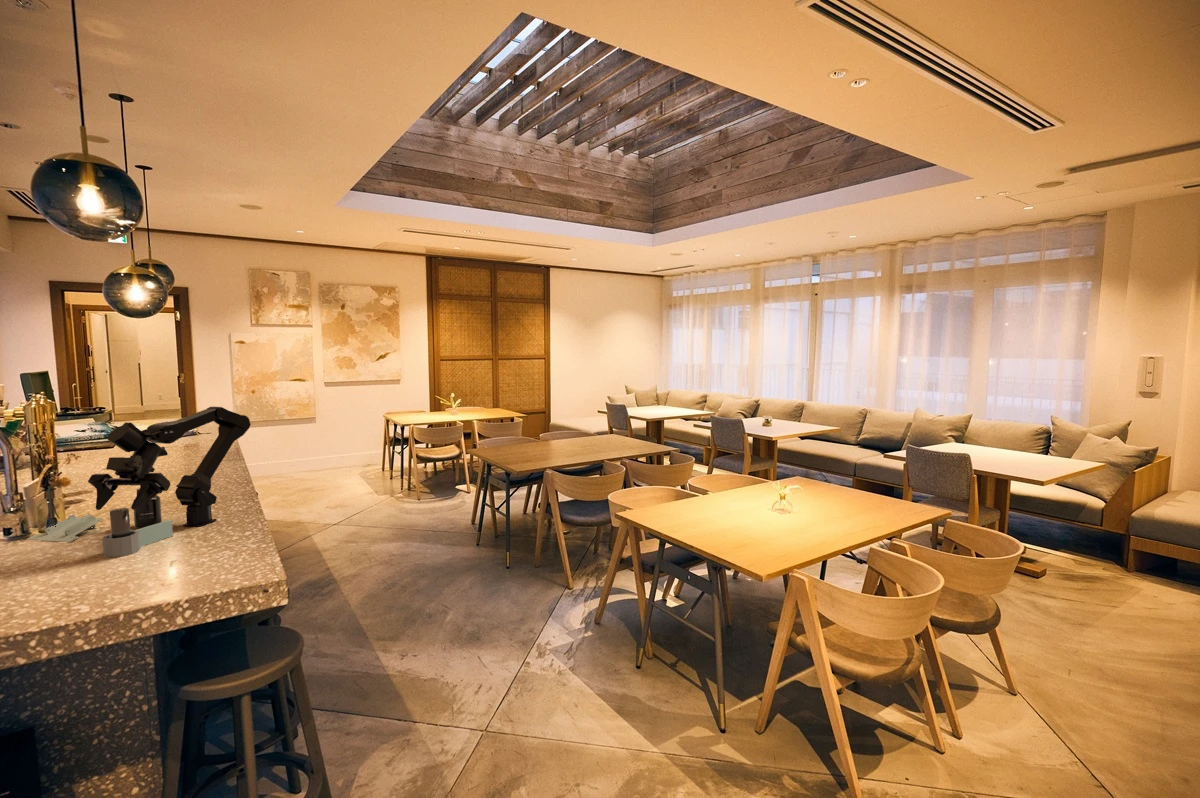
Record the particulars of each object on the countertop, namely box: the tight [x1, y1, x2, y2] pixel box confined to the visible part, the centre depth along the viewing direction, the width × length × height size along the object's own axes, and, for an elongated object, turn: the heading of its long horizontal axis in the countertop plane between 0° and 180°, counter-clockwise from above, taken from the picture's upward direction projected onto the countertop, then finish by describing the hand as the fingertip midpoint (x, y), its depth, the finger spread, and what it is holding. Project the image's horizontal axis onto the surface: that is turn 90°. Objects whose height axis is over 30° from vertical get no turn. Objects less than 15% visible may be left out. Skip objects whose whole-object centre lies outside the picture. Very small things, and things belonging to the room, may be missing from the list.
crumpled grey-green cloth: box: [26, 513, 104, 543], centre depth 171 cm, size 14×6×15 cm
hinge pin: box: [109, 507, 131, 539], centre depth 156 cm, size 4×4×12 cm
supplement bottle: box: [132, 487, 163, 529], centre depth 180 cm, size 7×7×12 cm
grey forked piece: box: [101, 519, 174, 558], centre depth 161 cm, size 18×13×5 cm
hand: (115, 509), depth 154 cm, fingers open, 9 cm apart
